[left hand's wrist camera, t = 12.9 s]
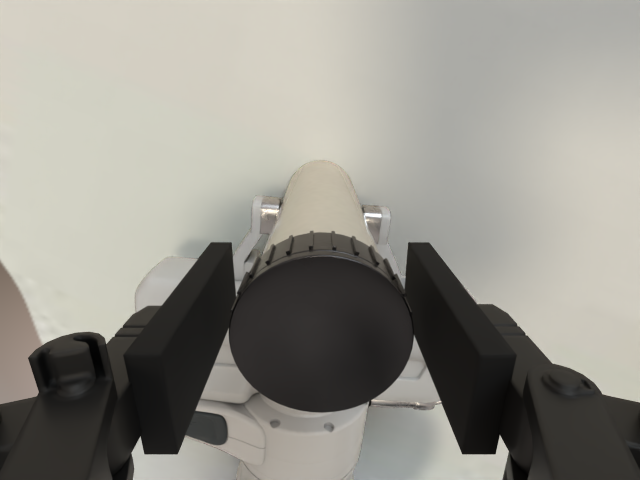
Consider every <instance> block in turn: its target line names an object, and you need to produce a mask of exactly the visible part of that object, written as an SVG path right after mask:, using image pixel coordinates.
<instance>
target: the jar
mask: <svg viewBox="0 0 640 480" xmlns="http://www.w3.org/2000/svg"><path fill="white" fill-rule="evenodd" d="M310 231H314V233H316V232H326V233H331V231H335V234H341V235H345V236H348V237H352V236H355V237H356V240H359V241H361V242H363V243H364V244H366V245H368V246H370V245H372V246H373V247H374V249H375V251H376V252H377V253H378V254H380V253H379V251H378V248H377V246H376V243H375V240H374V238H373V235H372V233H371V230H370V228H369V225H368V223H367V220H366V218H365V215H364V213H363V210H362V208H361V205H360V203H359V200H358V198H357V195H356V192H355V190H354V187H353V185H352V182H351V180H350V178H349V176H348V175H347V173H346V172H345V171H344V170H343V169H342V168H341V167H340V166H338V165H336V164H334V163H332V162H329V161H322V160H319V161H312V162H309V163H307V164H305V165H303V166H302V167H300V168H299V169H298V170H297V171H296V172H295V173H294V175H293V176H292V178H291V180H290V183H289V185H288V188H287V190H286V193H285V196H284V198H283V201H282V204H281V206H280V209H279V211H278V214H277V217H276V219H275V222H274V224H273V227H272V230H271V232H270V235H269V237H268V240H267V243H266V245H265V248H264V250H263V253H262V255H263V254H264V253H265V252H266V251H267V250H269V249H270V246H271V245H272V244H274V245H276V244H278V243H280V242H282V241H284V240H286V239H288V238H289V236H290V235H293V237H294V236H297V235H302V234H307V233H310Z"/></svg>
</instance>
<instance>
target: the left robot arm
mask: <svg viewBox="0 0 640 480" xmlns="http://www.w3.org/2000/svg"><path fill="white" fill-rule="evenodd" d="M404 290H405V292H406V294H407V296H406V299H407V301H408V303H409V306H410V308H411V310H412V314H413V315H412V319H413V326H414V336H415V339H416V341H417V344H418V346H419V349H420V351H421V353H422V356H423V358H424V361H425V363H426V366H427V368H428V371H429V373H430V376H431V378H432V381H433V383H434V386H435V388H436V390H437V393H438V395H439V398H440V400H441V403H442V405H443V408H444V410H445V413H446V415H447V418H448V420H449V423H450V425H451V427H452V430H453V432H454V435H455V437H456V440H457V442H458V445H459V447H460V450H461V452H462V454H496V449H497V445H498V440H499V435H500V436H501V437H502V439H503V441H504V443H505V445H506V447H507V448H508V450H509V454H508V458H507V463H506V467H505V471H504V475H503V480H640V403H639V402H634V401H630V400H625V399H620V398H615V397H611V396H606V395H603V394H602V393H601V391H600V390H599V389H598V387H597V386H596V385H595V384H594V382H592V381H591V380H589V379H588V378H587V377H585V376H584V375H583V374H580V373H578V372H576V371H574V370H572V369H570V368H567V367H563V366H560V365H556V364H552V363H551V362H550V360H549V359H548V358H547V357H546V356H545V355H544V354H543V353H542V351H541V350H540V349H539V348H538V347H537V346H536V345H535V344H534V343H533V341H532V340H531V339H530V338H529V337H528V336H526V335H525V332H524V331H523V330H522V329H521V328H520V327H519V326H517V323H516V322H515V321H514V320H513V319H512V318H511V317H510V316H509V314H508V313H506V312H504V311H503V310H501V309H499V308H498V307H496V306H494V305H493V304H477V303H476V302H475V301H474V299H473V298H472V297H471V296H470V294H469V293H468V292H467V290H466V289H465V288H464V287H463V285H462V284H461V283H460V282H459V280H458V279H457V278H456V276H455V275H454V274H453V273H452V271H451V270H450V269H449V267H448V266H447V265H446V264H445V262H444V261H443V260H442V258H441V257H440V256H439V255H438V253H437V252H436V251H435V250H434V248H433V247H432V246H431V244H430V243H408V254H407V265H406V277H405V288H404ZM235 299H236V288H235V277H234V265H233V254H232V243H210V244H209V246H208V247H207V248H206V250H205V251H204V252H203V253H202V255H201V256H200V257H199V258H198V260H197V261H196V262H195V264H194V265H193V266H192V267H191V269H190V270H189V271H188V273H187V274H186V275H185V276H184V278H183V279H182V280H181V281H180V283H179V284H178V285H177V287H176V288H175V289H174V290H173V292H172V293H171V294H170V296H169V297H168V298H167V299H166V301H165V302H164V303H163V305H162V306H146V307H145V308H143V309H141V310H140V311H138V312H136V313H135V314H133V315H132V316H131V317H130V318H129V319H128V321H127V322H126V323H125V324H124V325H123V328H120V330H119V331H118V332H117V333H116V334H115V337H113V338H112V339H111V340H110V341H109V342H108V343H107V344H106V342H105V338H104V337H103V336H101V335H100V334H98V333H93V332H80V333H73V334H69V335H65V336H61V337H59V338H57V339H54V340H52V341H49V342H47V343H46V344H44V345H42V346H41V347H39V348H38V349H36V350H35V351H34V352H33V353H32V354H31V355H30V356H29V358H28V359H29V362H30V365H31V368H32V372H33V375H34V378H35V381H36V384H37V387H38V390H39V394H38V396H36V397H33V398H28V399H23V400H19V401H14V402H9V403H5V404H0V480H133V473H134V464H133V458H132V454H131V452H132V451H133V449H134V447H135V445H136V443H137V441H138V439H139V438H140V436H141V440H142V445H143V449H144V454H178V452H179V450H180V447H181V445H182V442H183V440H184V437H185V435H186V432H187V430H188V427H189V425H190V422H191V420H192V418H193V415H194V413H195V410H196V408H197V405H198V403H199V400H200V398H201V395H202V393H203V390H204V388H205V385H206V383H207V381H208V378H209V376H210V373H211V371H212V368H213V366H214V363H215V361H216V358H217V356H218V353H219V351H220V348H221V346H222V344H223V341H224V339H225V336H226V334H227V331H228V329H229V323H230V318H231V314H232V313H230V311H231V308H232V306H233V303H234V301H235Z"/></svg>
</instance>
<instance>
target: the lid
mask: <svg viewBox="0 0 640 480" xmlns="http://www.w3.org/2000/svg"><path fill="white" fill-rule="evenodd" d="M406 296H407V294H406V292H405V290H404V288H403V285H402V283H401V281H400V279H399V277H398V275H397V273H396V274H394V273H393V270H392V268H391V266H390V263H389V261H388V259H387V258H385V259H383V258H382V256H381V255H380V254H378V253H377V252H376V251H375V249H374V247H373V246H372V245H370V246H368V245H366V244H364V243H363V242H361V241H359V240H356V237H355V236H352V237H348V236H345V235H341V234H335V231H331V233H326V232H316V233H314V231H310V233H307V234H302V235H297V236H294V237H293V235H290V236H289V238H288V239H286V240H284V241H282V242H280V243H278V244H276V245H274V244H272V245H271V246H270V249H269V250H267V251H266V252H265V253H264V254H263V255H262V256H261V257H258V256H257V257H256V259H255V261H254V264H253V266H252V268H251V270H250V271H249V272H246V273H245V275H244V278H243V280H242V282H241V284H240V287H239V289H238V291H237V296H236V299H235V301H234V303H233V306H232V308H231V311H230V313H232V314H231V318H230V323H229V344H230V349H231V353H232V356H233V359H234V361H235V363H236V365H237V367H238V369H239V371H240V372H241V374H242V375H243V376H244V378H245V379H246V380H247V381H248V382H249V384H250V385H251V386H252V387H253V388H255V389H256V390H257V391H258V392H259V393H261V394H262V395H264V396H265V397H267V398H268V399H270V400H272V401H274V402H276V403H278V404H280V405H283V406H286V407H288V408H292V409H296V410H300V411H306V412H317V413H326V412H337V411H343V410H347V409H351V408H354V407H357V406H360V405H362V404H365V403H367V402H369V401H370V400H372V399H374V398H376V397H377V396H379V395H380V394H382V393H383V392H384V391H386V390H387V389H388V388H389V387H390V386H391V385H392V384H393V383H394V382H395V381H396V380H397V379H398V377H399V376H400V374H401V373H402V371H403V370H404V368H405V366H406V364H407V362H408V360H409V358H410V354H411V351H412V347H413V341H414V326H413V319H412V315H413V314H412V310H411V308H410V306H409V303H408V301H407V299H406Z"/></svg>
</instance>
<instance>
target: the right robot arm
mask: <svg viewBox="0 0 640 480" xmlns="http://www.w3.org/2000/svg"><path fill="white" fill-rule="evenodd" d="M281 204H282V198H278V197H269V196H258V195H256V196H255V198H254V199H253V203H252V215H251V228H250V230H249V231H248V233H247V234H246V236H245V237H244V239H243V240H242V242H241V243H240V245H239V246H238V248H237V250H236V251H235V253H234V255H233V265H234V277H235V288H236V296H237V291H238V289H239V287H240V284H241V282H242V280H243V278H244V275H245V273H246V272H249V271H250V270H251V268H252V266H253V264H254V261H255V259H256V257H257V256H258V257H260V250H259V249H253V248H254V246H255V245H256V243H257V242H258V240H259V239H260V237H261V236H262V234H270V232H271V230H272V227H273V224H274V222H275V219H276V217H277V214H278V211H279V209H280V206H281ZM361 208H362V210H363V213H364V215H365V218H366V220H367V223H368V225H369V228H370V230H371V233H372V235H373V238H374V240H375V243H376V246H377V248H378V251H379V253H380V255H381V256H382V258H383V259H385V258H387V259H388V261H389V263H390V266H391V268H392V270H393V273H394V274H396V273H397V275H398V277H399V279H400V281H401V283H402V285H403V288H405V277H406V276H402V275H401V272H400V270H399V268H398V265H397V263H396V260H395V258H394V256H393V253H392V251H391V248H390V246H389V244H388V242H387V240H388V233H389V227H390V221H391V213H390V210H389V209H388V207H383V206H372V205H362V207H361ZM197 260H198V259H195V258H183V257H167V258H165V259H163V260H162V261H161V262H160V263H158V264H157V265H156V266H155V267H154V268H153V269H151V270H150V271H149V273H148V274H147V275H146V276H145V277H144V278H143V279H142V281H141V282H140V284H139V285H138V287H137V289H136V292H135V310H136V312H138V311H140V310H141V309H143V308H145V307H146V306H162V305H163V303H164V302H165V301H166V299H167V298H168V297H169V296H170V294H171V293H172V292H173V290H174V289H175V288H176V287H177V285H178V284H179V283H180V281H181V280H182V279H183V278H184V276H185V275H186V274H187V273H188V271H189V270H190V269H191V267H192V266H193V265H194V264H195V262H196V261H197ZM463 287H464V286H463ZM464 288H465V287H464ZM465 289H466V288H465ZM466 290H467V289H466ZM467 292H468V290H467ZM468 293H469V292H468ZM469 294H470V293H469ZM470 296H471V297H472V298H473V296H472V295H471V294H470ZM473 299H474V298H473ZM474 301H475V299H474ZM475 302H476V301H475ZM476 303H477V302H476ZM437 404H442V403H441V400H440V398H439V395H438V393H437V390H436V388H435V386H434V383H433V381H432V378H431V376H430V373H429V371H428V368H427V366H426V363H425V361H424V358H423V356H422V353H421V351H420V349H419V346H418V344H417V341H416V339H415V336H414V341H413V347H412V351H411V354H410V358H409V360H408V362H407V364H406V366H405V368H404V370H403V371H402V373H401V374H400V376H399V377H398V379H397V380H396V381H395V382H394V383H393V384H392V385H391V386H390V387H389V388H388V389H387V390H386V391H384V392H383V393H382V394H380V395H379V396H377V397H376V398H374V399H372V400H370V401H369V402H367V403H365V404H362V405H360V406H357V407H354V408H351V409H347V410H343V411H337V412H326V413H317V412H306V411H300V410H296V409H292V408H288V407H286V406H283V405H280V404H278V403H276V402H274V401H272V400H270V399H268V398H267V397H265V396H264V395H262V394H261V393H259V392H258V391H257V390H256V389H255V388H253V387H252V386H251V385H250V384H249V382H248V381H247V380H246V379H245V378H244V376H243V375H242V374H241V372H240V371H239V369H238V367H237V365H236V363H235V361H234V359H233V356H232V353H231V349H230V344H229V329H228V331H227V334H226V336H225V339H224V341H223V344H222V346H221V348H220V351H219V353H218V356H217V358H216V361H215V363H214V366H213V368H212V371H211V373H210V376H209V378H208V381H207V383H206V385H205V388H204V390H203V393H202V395H201V398H200V400H199V403H198V405H197V408H196V410H195V413H194V415H193V418H192V420H191V422H190V425H189V427H188V430H187V432H186V435H185V437H187V438H190V439H193V440H196V441H199V442H202V443H205V444H207V445H210V446H212V447H215V448H217V449H220V450H222V451H224V452H226V453H228V454H230V455H232V456H234V457H236V458H238V459H240V460H241V461H240V463H239V466H238V470H237V475H236V480H354V477H353V470H354V469H355V467H356V464H357V462H358V459H359V455H360V452H361V445H362V440H363V434H364V428H365V422H366V417H367V411H368V407H369V406H370V407H372V406H373V407H385V408H395V407H396V408H399V407H406V408H407V407H408V408H413V409H416V410H431V409H433V408H434V405H437Z"/></svg>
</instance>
